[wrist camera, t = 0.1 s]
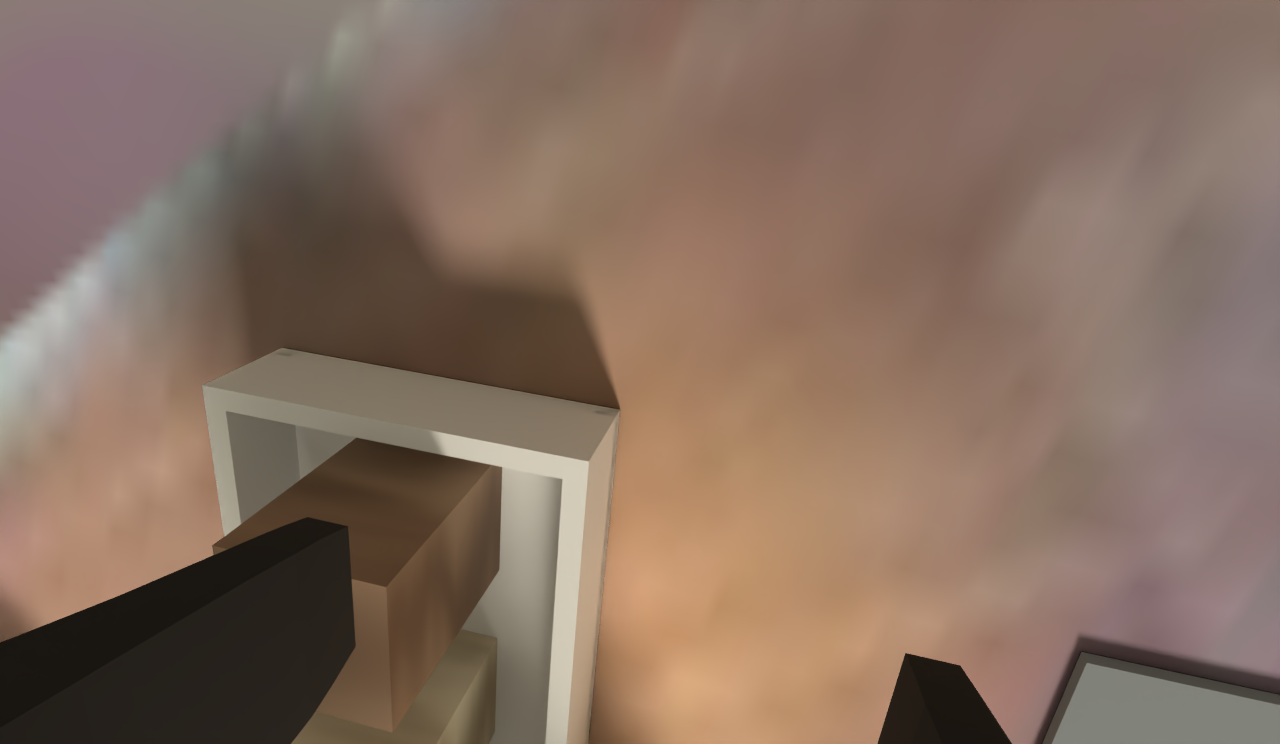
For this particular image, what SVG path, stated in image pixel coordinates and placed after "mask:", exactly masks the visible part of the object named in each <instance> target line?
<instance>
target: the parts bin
mask: <svg viewBox="0 0 1280 744" xmlns="http://www.w3.org/2000/svg"><path fill="white" fill-rule="evenodd" d="M202 388H203V395H204V402H205V409H206V416H207V422H208V429H209V436H210V443H211V450H212V457H213V463H214V470H215V477H216V484H217V491H218V498H219V504H220V511H221V518H222V525H223V532H224V537H225V536H226V535H227V534H229V533H230V532H231V531H233V530H234V529H235V528H237V527H238V526H239V525H241V524H242V523H243V522H245V521H246V520H247V519H249V518H250V517H251V516H253V515H254V514H255V513H257V512H258V511H259V510H261V509H262V508H263V507H265V506H266V505H267V504H269V503H270V502H271V501H273V500H274V499H275V498H277V497H278V496H279V495H281V494H282V493H283V492H285V491H286V490H287V489H289V488H290V487H291V486H293V485H294V484H295V483H297V482H298V481H299V480H301V479H302V478H303V477H305V476H306V475H307V474H309V473H310V472H311V471H313V470H314V469H315V468H317V467H318V466H319V465H321V464H322V463H323V462H325V461H326V460H327V459H329V458H330V457H331V456H333V455H334V454H335V453H337V452H338V451H339V450H341V449H342V448H343V447H345V446H346V445H347V444H349V443H350V442H351V441H353V440H354V439H355V438H362V439H367V440H371V441H376V442H381V443H386V444H391V445H396V446H401V447H406V448H411V449H416V450H421V451H426V452H431V453H436V454H441V455H445V456H450V457H455V458H460V459H465V460H470V461H475V462H480V463H485V464H490V465H495V466H500V467H502V494H501V530H500V566H499V571H498V573H497V574H496V576H495V578H494V579H493V581H492V582H491V584H490V585H489V587H488V588H487V590H486V591H485V593H484V594H483V596H482V597H481V599H480V600H479V602H478V603H477V605H476V607H475V608H474V610H473V611H472V613H471V614H470V616H469V617H468V619H467V620H466V622H465V623H464V625H463V626H462V628H461V629H463V630H467V631H471V632H475V633H479V634H483V635H487V636H491V637H495V638H497V675H496V711H495V733H494V735H493V737H492V739H491V741H490V743H489V744H588V741H589V730H590V720H591V710H592V699H593V689H594V678H595V668H596V657H597V647H598V636H599V626H600V616H601V605H602V595H603V584H604V574H605V563H606V553H607V542H608V532H609V521H610V511H611V501H612V490H613V480H614V469H615V459H616V448H617V438H618V427H619V417H620V410H619V409H613V408H608V407H602V406H597V405H591V404H586V403H580V402H575V401H570V400H564V399H559V398H553V397H548V396H542V395H537V394H531V393H526V392H520V391H515V390H510V389H504V388H499V387H493V386H488V385H482V384H477V383H471V382H466V381H460V380H455V379H450V378H444V377H439V376H433V375H428V374H422V373H417V372H411V371H406V370H400V369H395V368H390V367H384V366H379V365H373V364H368V363H362V362H357V361H351V360H346V359H340V358H335V357H330V356H324V355H319V354H313V353H308V352H302V351H297V350H291V349H286V348H280V349H278V350H276V351H274V352H272V353H270V354H268V355H265V356H263V357H261V358H259V359H257V360H255V361H253V362H251V363H248V364H246V365H244V366H242V367H240V368H238V369H236V370H234V371H232V372H229V373H227V374H225V375H223V376H221V377H219V378H217V379H215V380H212V381H210V382H208V383H206V384H204V385H202Z"/></svg>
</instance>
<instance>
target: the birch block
mask: <svg viewBox="0 0 1280 744" xmlns="http://www.w3.org/2000/svg"><path fill="white" fill-rule="evenodd" d="M496 675H497V638H495V637H491V636H487V635H483V634H479V633H475V632H471V631H467V630H463V629H460V631H459V633H458V634H457V636H456V637H455V639H454V640H453V642H452V643H451V645H450V646H449V648H448V649H447V651H446V652H445V654H444V655H443V657H442V658H441V660H440V662H439V663H438V665H437V666H436V668H435V669H434V671H433V672H432V674H431V675H430V677H429V678H428V680H427V681H426V683H425V684H424V686H423V688H422V689H421V691H420V692H419V694H418V695H417V697H416V698H415V700H414V701H413V703H412V704H411V706H410V707H409V709H408V710H407V712H406V713H405V715H404V717H403V718H402V720H401V721H400V723H399V724H398V726H397V727H396V729H395V730H394V732H393V733H392V732H388V731H384V730H381V729H377V728H373V727H370V726H366V725H363V724H359V723H355V722H352V721H348V720H344V719H341V718H337V717H333V716H330V715H326V714H323V713H319V712H315V713H314V714H313V716H312V717H311V719H310V720H309V721H308V723H307V724H306V725H305V727H304V728H303V729H302V730H301V732H300V733H299V734H298V736H297V737H296V738H295V739H294V741H293V742H292V743H291V744H489V743H490V741H491V739H492V737H493V735H494V733H495V711H496Z"/></svg>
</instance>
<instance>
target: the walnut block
mask: <svg viewBox="0 0 1280 744" xmlns="http://www.w3.org/2000/svg"><path fill="white" fill-rule="evenodd" d="M501 494H502V467H500V466H495V465H490V464H485V463H480V462H475V461H470V460H465V459H460V458H455V457H450V456H445V455H441V454H436V453H431V452H426V451H421V450H416V449H411V448H406V447H401V446H396V445H391V444H386V443H381V442H376V441H371V440H367V439H362V438H355V439H354V440H353V441H351V442H350V443H349V444H347V445H346V446H345V447H343V448H342V449H341V450H339V451H338V452H337V453H335V454H334V455H333V456H331V457H330V458H329V459H327V460H326V461H325V462H323V463H322V464H321V465H319V466H318V467H317V468H315V469H314V470H313V471H311V472H310V473H309V474H307V475H306V476H305V477H303V478H302V479H301V480H299V481H298V482H297V483H295V484H294V485H293V486H291V487H290V488H289V489H287V490H286V491H285V492H283V493H282V494H281V495H279V496H278V497H277V498H275V499H274V500H273V501H271V502H270V503H269V504H267V505H266V506H265V507H263V508H262V509H261V510H259V511H258V512H257V513H255V514H254V515H253V516H251V517H250V518H249V519H247V520H246V521H245V522H243V523H242V524H241V525H239V526H238V527H237V528H235V529H234V530H233V531H231V532H230V533H229V534H227V535H226V536H225V537H223V538H222V539H221V540H219V541H218V542H217V543H215V544H214V545H213V546H212V547H213V553H214V555H215V554H218V553H220V552H222V551H225V550H227V549H229V548H232V547H234V546H236V545H239V544H241V543H243V542H245V541H248V540H250V539H253V538H255V537H257V536H260V535H262V534H264V533H267V532H269V531H272V530H274V529H277V528H279V527H282V526H284V525H287V524H289V523H292V522H295V521H298V520H300V519H303V518H306V517H310V518H314V519H319V520H323V521H327V522H332V523H336V524H341V525H345V526H348V531H349V547H350V563H351V579H352V594H353V610H354V626H355V642H356V647H355V648H354V650H353V652H352V653H351V655H350V657H349V658H348V660H347V662H346V663H345V665H344V667H343V668H342V670H341V672H340V673H339V675H338V677H337V678H336V680H335V682H334V683H333V685H332V687H331V688H330V690H329V691H328V693H327V694H326V696H325V697H324V699H323V701H322V702H321V704H320V705H319V707H318V708H317V710H316V711H315V712H319V713H323V714H326V715H330V716H333V717H337V718H341V719H344V720H348V721H352V722H355V723H359V724H363V725H366V726H370V727H373V728H377V729H381V730H384V731H388V732H392V733H393V732H394V730H395V729H396V727H397V726H398V724H399V723H400V721H401V720H402V718H403V717H404V715H405V713H406V712H407V710H408V709H409V707H410V706H411V704H412V703H413V701H414V700H415V698H416V697H417V695H418V694H419V692H420V691H421V689H422V688H423V686H424V684H425V683H426V681H427V680H428V678H429V677H430V675H431V674H432V672H433V671H434V669H435V668H436V666H437V665H438V663H439V662H440V660H441V658H442V657H443V655H444V654H445V652H446V651H447V649H448V648H449V646H450V645H451V643H452V642H453V640H454V639H455V637H456V636H457V634H458V633H459V631H460V629H461V628H462V626H463V625H464V623H465V622H466V620H467V619H468V617H469V616H470V614H471V613H472V611H473V610H474V608H475V607H476V605H477V603H478V602H479V600H480V599H481V597H482V596H483V594H484V593H485V591H486V590H487V588H488V587H489V585H490V584H491V582H492V581H493V579H494V578H495V576H496V574H497V573H498V571H499V566H500V530H501Z"/></svg>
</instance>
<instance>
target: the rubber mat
mask: <svg viewBox="0 0 1280 744" xmlns="http://www.w3.org/2000/svg"><path fill="white" fill-rule="evenodd" d="M1042 744H1280V695H1278V694H1273V693H1269V692H1264V691H1259V690H1255V689H1250V688H1246V687H1241V686H1236V685H1232V684H1227V683H1223V682H1218V681H1213V680H1209V679H1204V678H1199V677H1195V676H1190V675H1186V674H1181V673H1176V672H1172V671H1167V670H1163V669H1158V668H1153V667H1149V666H1144V665H1140V664H1135V663H1130V662H1126V661H1121V660H1117V659H1112V658H1107V657H1103V656H1098V655H1094V654H1089V653H1084V652H1081V654H1080V656H1079V658H1078V661H1077V663H1076V666H1075V668H1074V670H1073V673H1072V675H1071V677H1070V680H1069V682H1068V684H1067V687H1066V689H1065V691H1064V694H1063V696H1062V698H1061V701H1060V703H1059V706H1058V708H1057V710H1056V713H1055V715H1054V717H1053V720H1052V722H1051V724H1050V727H1049V729H1048V731H1047V734H1046V736H1045V738H1044V741H1043V743H1042Z"/></svg>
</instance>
